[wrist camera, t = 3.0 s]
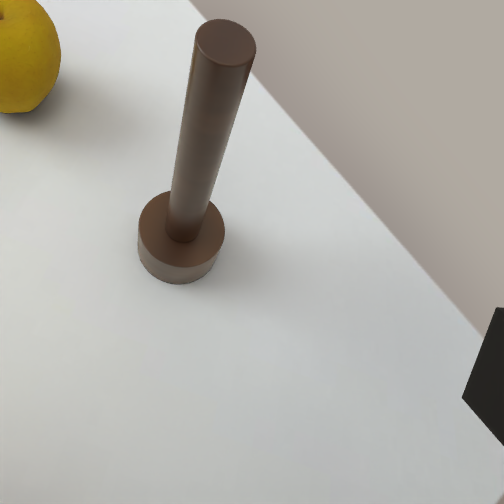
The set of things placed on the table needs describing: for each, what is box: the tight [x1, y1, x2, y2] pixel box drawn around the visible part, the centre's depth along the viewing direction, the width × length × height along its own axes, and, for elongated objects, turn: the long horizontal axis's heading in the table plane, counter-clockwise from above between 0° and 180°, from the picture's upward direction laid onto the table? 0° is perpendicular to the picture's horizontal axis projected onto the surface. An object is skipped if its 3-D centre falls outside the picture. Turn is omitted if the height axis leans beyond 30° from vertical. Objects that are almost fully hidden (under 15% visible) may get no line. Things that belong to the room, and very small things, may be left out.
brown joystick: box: [138, 19, 256, 284], centre depth 23 cm, size 5×5×17 cm
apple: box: [0, 0, 61, 113], centre depth 28 cm, size 6×6×8 cm
